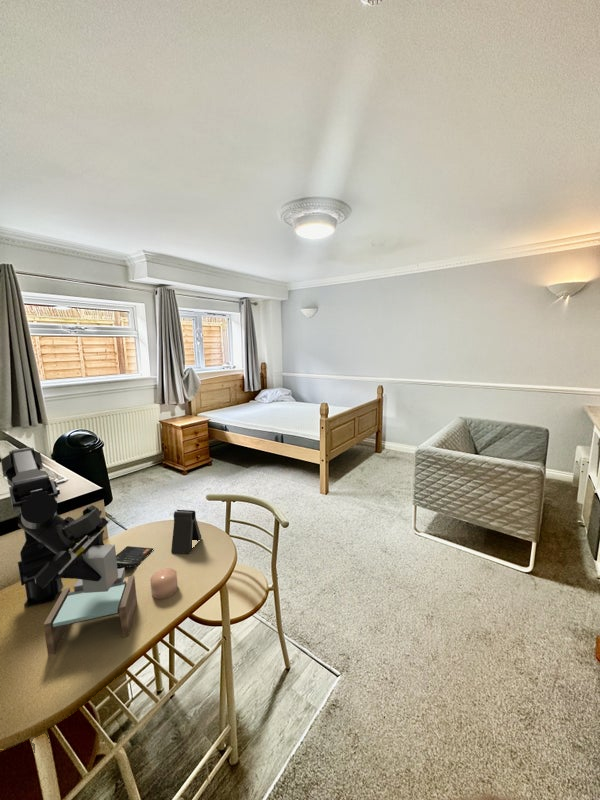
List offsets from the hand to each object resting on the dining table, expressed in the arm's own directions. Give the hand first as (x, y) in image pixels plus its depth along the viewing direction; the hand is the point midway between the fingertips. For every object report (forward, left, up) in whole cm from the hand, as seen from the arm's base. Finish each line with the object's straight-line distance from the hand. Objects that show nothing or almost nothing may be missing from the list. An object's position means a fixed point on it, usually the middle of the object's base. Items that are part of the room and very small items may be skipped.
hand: (106, 571), depth 75 cm
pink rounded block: (+11, +9, -13) cm, 19 cm away
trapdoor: (-3, +2, -8) cm, 9 cm away
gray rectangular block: (-1, 0, -3) cm, 3 cm away
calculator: (-1, +27, -14) cm, 30 cm away
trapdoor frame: (-3, 0, -13) cm, 14 cm away
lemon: (-13, +31, -14) cm, 36 cm away
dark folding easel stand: (+16, +29, -14) cm, 35 cm away
